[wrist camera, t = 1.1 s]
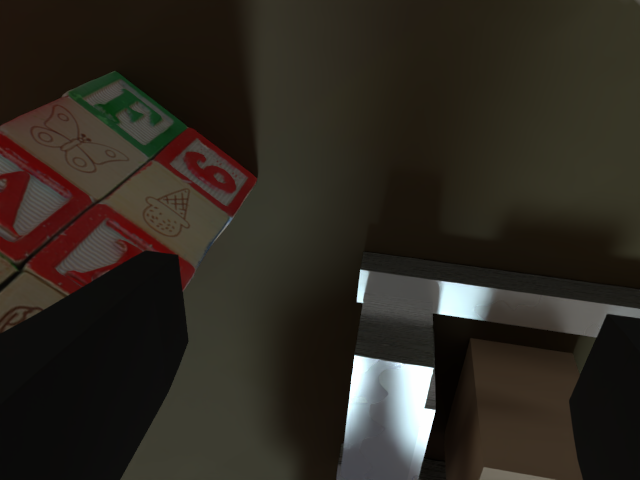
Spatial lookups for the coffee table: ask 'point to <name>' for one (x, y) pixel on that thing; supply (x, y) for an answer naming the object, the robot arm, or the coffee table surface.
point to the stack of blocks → (104, 192)
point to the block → (512, 415)
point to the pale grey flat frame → (419, 353)
